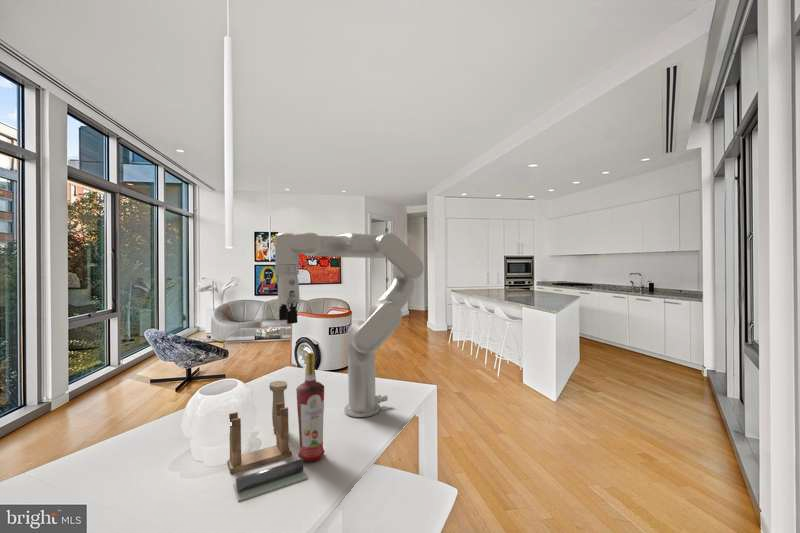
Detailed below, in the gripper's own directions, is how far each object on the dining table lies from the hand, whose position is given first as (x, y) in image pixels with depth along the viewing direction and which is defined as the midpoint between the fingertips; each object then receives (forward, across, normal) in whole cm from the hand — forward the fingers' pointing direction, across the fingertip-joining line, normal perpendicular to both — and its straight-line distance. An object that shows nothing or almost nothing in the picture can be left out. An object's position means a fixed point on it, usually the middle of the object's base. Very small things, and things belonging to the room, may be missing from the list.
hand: (288, 321), depth 121 cm
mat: (+33, -32, +14) cm, 48 cm away
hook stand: (+33, -20, +14) cm, 41 cm away
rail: (+32, -32, +14) cm, 47 cm away
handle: (+34, -6, +5) cm, 34 cm away
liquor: (+34, -27, +2) cm, 43 cm away
